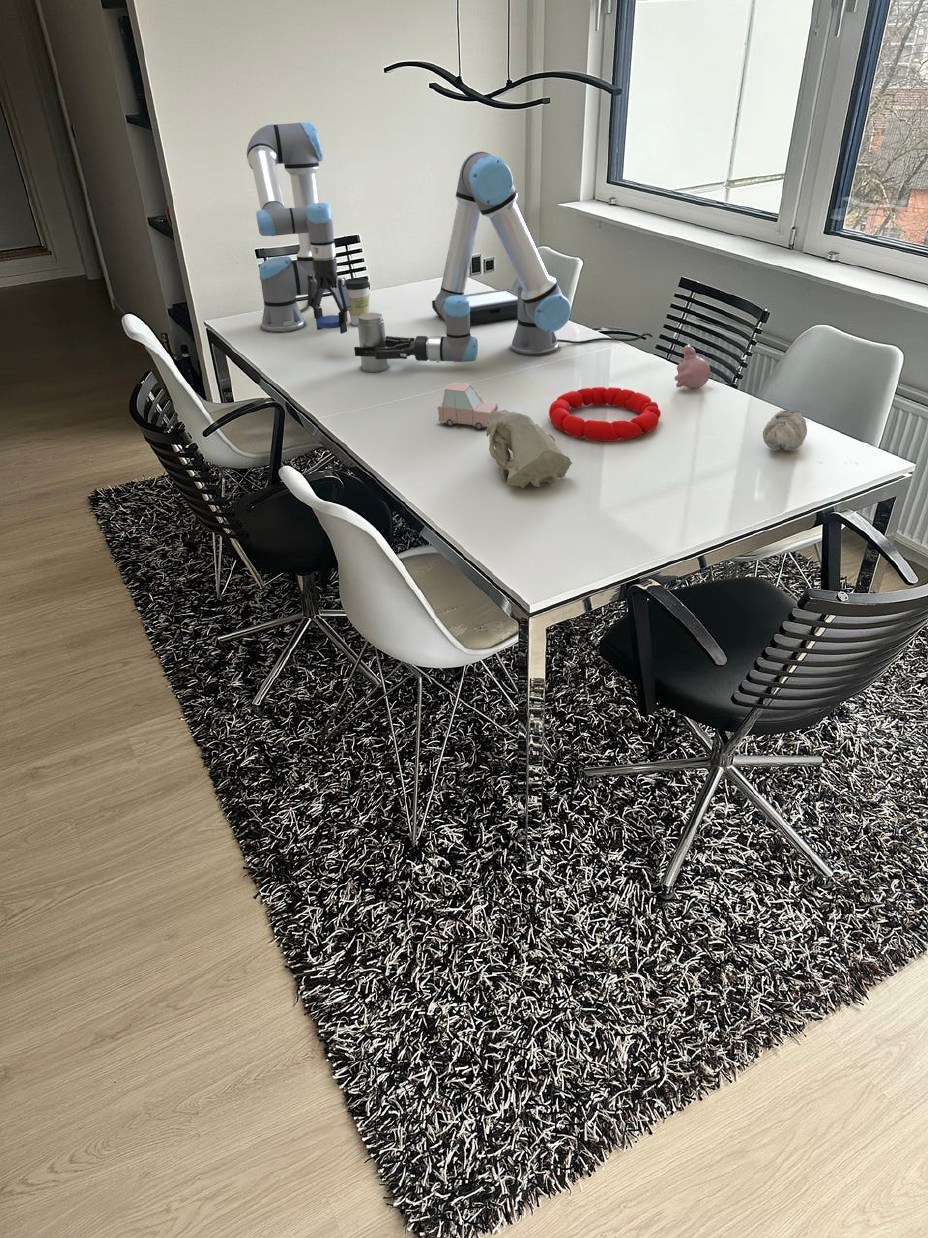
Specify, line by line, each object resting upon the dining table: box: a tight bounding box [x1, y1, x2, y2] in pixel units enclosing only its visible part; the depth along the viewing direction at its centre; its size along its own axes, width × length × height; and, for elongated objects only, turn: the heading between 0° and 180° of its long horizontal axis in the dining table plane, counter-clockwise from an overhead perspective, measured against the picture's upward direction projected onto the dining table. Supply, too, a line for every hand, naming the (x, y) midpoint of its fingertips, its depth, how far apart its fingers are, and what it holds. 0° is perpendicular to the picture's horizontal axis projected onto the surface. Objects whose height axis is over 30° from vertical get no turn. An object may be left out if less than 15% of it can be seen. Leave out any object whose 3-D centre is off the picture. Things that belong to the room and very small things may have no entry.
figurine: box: [674, 344, 711, 390], centre depth 259 cm, size 9×11×12 cm
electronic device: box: [431, 288, 518, 326], centre depth 328 cm, size 32×6×20 cm
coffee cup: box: [346, 277, 371, 327], centre depth 323 cm, size 10×10×15 cm
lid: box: [316, 314, 340, 330], centre depth 289 cm, size 9×9×2 cm
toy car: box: [437, 382, 499, 431], centre depth 243 cm, size 9×15×10 cm, turn 70°
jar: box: [357, 312, 388, 373], centre depth 282 cm, size 8×8×16 cm
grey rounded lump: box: [762, 410, 808, 451], centre depth 223 cm, size 10×15×10 cm
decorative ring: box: [548, 386, 661, 442], centre depth 242 cm, size 7×30×30 cm
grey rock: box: [485, 409, 573, 489], centre depth 216 cm, size 17×25×20 cm
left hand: (332, 330), depth 291 cm, fingers closed on lid, 9 cm apart
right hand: (358, 346), depth 283 cm, fingers closed on jar, 8 cm apart
